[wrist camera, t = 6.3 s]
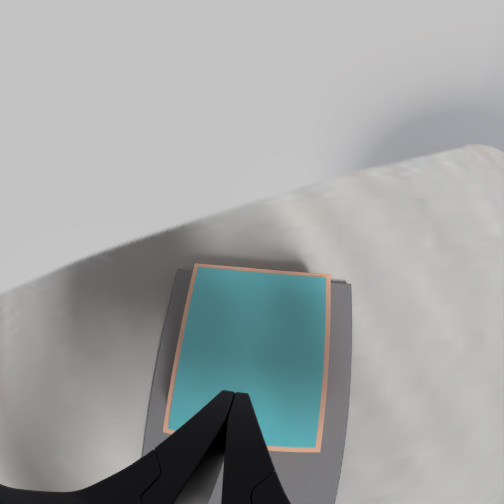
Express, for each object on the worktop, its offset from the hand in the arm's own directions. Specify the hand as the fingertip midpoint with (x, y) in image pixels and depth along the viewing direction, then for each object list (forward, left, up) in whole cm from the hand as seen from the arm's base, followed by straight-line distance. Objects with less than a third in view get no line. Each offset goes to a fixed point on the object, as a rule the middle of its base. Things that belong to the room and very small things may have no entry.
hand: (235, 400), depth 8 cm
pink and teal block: (-1, -3, -6) cm, 7 cm away
